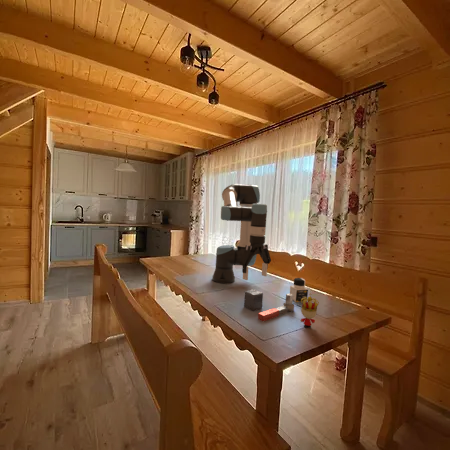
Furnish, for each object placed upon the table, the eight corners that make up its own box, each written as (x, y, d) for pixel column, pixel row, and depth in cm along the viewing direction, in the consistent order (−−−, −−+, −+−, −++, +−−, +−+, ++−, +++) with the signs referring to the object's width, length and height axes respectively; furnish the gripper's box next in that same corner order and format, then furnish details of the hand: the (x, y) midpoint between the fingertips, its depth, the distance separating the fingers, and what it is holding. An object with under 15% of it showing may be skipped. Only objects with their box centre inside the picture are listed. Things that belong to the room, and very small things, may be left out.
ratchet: (287, 307, 133) (288, 292, 132) (295, 310, 129) (297, 295, 128) (256, 318, 118) (257, 301, 117) (264, 322, 114) (266, 304, 113)
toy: (312, 323, 115) (315, 290, 114) (319, 331, 108) (322, 296, 107) (296, 322, 115) (299, 290, 114) (302, 330, 108) (305, 295, 107)
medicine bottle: (295, 302, 140) (297, 280, 139) (289, 297, 147) (290, 277, 146) (307, 301, 142) (309, 280, 141) (300, 297, 149) (301, 276, 148)
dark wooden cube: (243, 306, 130) (244, 291, 130) (252, 304, 134) (253, 289, 134) (253, 311, 125) (254, 295, 125) (261, 308, 130) (263, 292, 129)
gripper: (244, 237, 116) (241, 283, 118) (279, 235, 132) (276, 276, 134) (233, 235, 122) (231, 279, 123) (268, 233, 138) (265, 272, 139)
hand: (254, 277), depth 128 cm, fingers open, 13 cm apart
